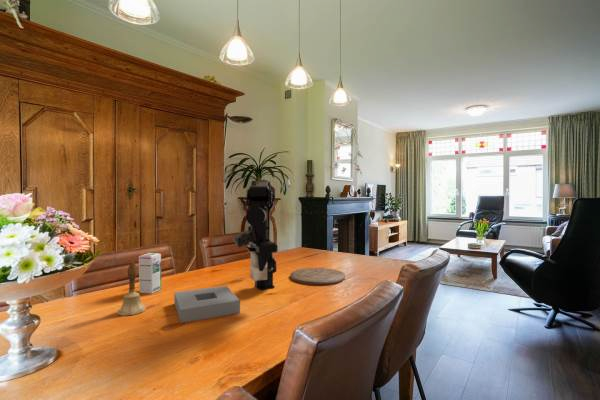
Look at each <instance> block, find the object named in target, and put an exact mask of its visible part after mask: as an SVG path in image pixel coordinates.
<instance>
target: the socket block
mask: <svg viewBox="0 0 600 400" xmlns="http://www.w3.org/2000/svg"><path fill="white" fill-rule="evenodd" d="M173 294H174V295H173V296H174V307H175V310H176V313H177V317H178V319H179V322H180V324H183V323H188V322H190V323H191V322H195V321H201V320H207V319H213V318H217V317H224V316H230V315H236V314H241V299H240V298H238V297H237V295H235V294H234V292H233V291H232V290H231V288H229V287H228V286H227V285H222V286H214V287H205V288H197V289H190V290H182V291H175V292H174V293H173Z"/></svg>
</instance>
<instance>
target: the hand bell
mask: <svg viewBox="0 0 600 400" xmlns="http://www.w3.org/2000/svg"><path fill="white" fill-rule="evenodd" d="M137 271H138V270H137V266H136V264H135V261H130V262H129V266H128V268H127V278H128V281H129V283H128V285H129V286H128V293H126V294H125V295H124V296H123V300H122V305H121V306H120V308H119V309H118V310H117V312H116V314H117V316H118V315H119V316H124V317H125V316H133V315H139V314H141V313H143V312H145V311H147V307H146V306H145V305H144V304H143V303H142V301H141V296H140V292H136V285H135V284H136V283H135V281H136V278H137V273H138V272H137Z"/></svg>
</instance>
